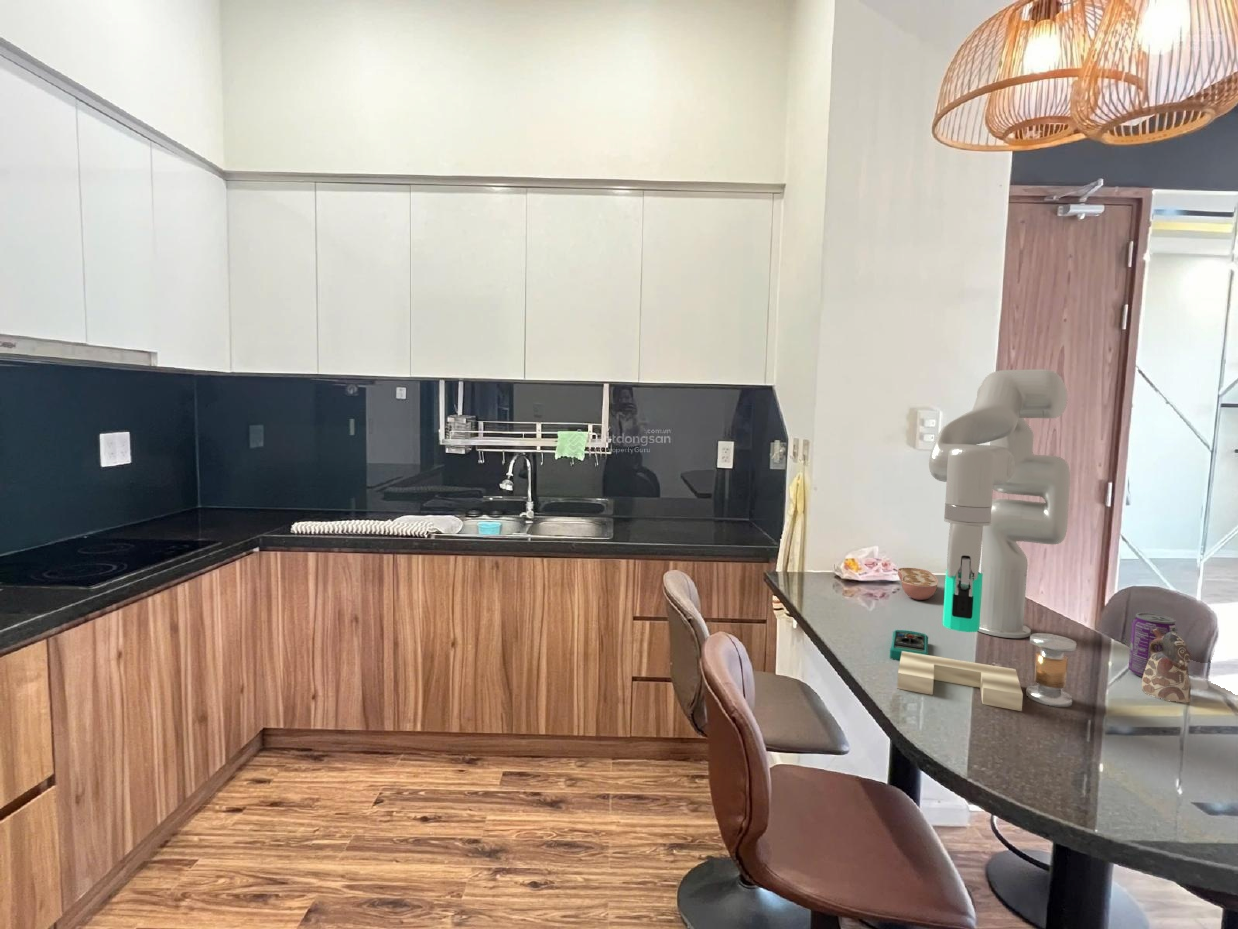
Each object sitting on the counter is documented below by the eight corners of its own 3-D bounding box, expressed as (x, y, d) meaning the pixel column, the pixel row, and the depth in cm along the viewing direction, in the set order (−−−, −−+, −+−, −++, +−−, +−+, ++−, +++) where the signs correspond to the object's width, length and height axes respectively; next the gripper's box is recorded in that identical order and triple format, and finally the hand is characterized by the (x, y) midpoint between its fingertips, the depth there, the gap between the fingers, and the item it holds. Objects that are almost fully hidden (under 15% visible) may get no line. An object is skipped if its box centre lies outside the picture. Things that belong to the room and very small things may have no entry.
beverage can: (1163, 672, 135) (1168, 614, 134) (1180, 685, 128) (1185, 624, 127) (1122, 667, 137) (1126, 610, 136) (1136, 680, 131) (1141, 620, 130)
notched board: (901, 665, 136) (901, 651, 136) (1014, 684, 127) (1015, 669, 127) (897, 688, 124) (897, 672, 124) (1021, 711, 115) (1022, 694, 115)
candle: (977, 634, 118) (982, 567, 117) (940, 628, 121) (944, 563, 121) (980, 625, 123) (984, 561, 122) (944, 620, 126) (948, 557, 126)
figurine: (1176, 705, 119) (1182, 640, 118) (1132, 690, 126) (1137, 628, 125) (1199, 699, 122) (1204, 635, 121) (1155, 684, 129) (1160, 624, 128)
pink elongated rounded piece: (896, 582, 205) (896, 566, 205) (931, 585, 202) (932, 569, 202) (901, 601, 184) (902, 584, 183) (941, 605, 180) (942, 587, 180)
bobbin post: (1024, 688, 126) (1028, 631, 125) (1068, 695, 122) (1072, 637, 122) (1028, 702, 119) (1032, 642, 118) (1075, 710, 116) (1079, 649, 115)
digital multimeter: (927, 645, 150) (928, 632, 150) (927, 667, 136) (928, 653, 136) (892, 640, 153) (893, 627, 153) (889, 661, 139) (890, 647, 139)
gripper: (944, 507, 130) (939, 599, 131) (944, 519, 115) (938, 622, 116) (988, 511, 127) (982, 604, 128) (994, 523, 112) (987, 629, 113)
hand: (961, 612), depth 122 cm, fingers closed on candle, 4 cm apart
